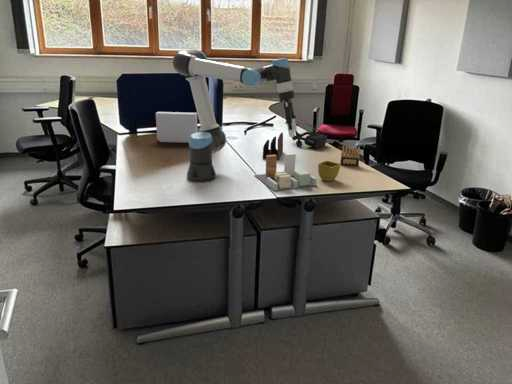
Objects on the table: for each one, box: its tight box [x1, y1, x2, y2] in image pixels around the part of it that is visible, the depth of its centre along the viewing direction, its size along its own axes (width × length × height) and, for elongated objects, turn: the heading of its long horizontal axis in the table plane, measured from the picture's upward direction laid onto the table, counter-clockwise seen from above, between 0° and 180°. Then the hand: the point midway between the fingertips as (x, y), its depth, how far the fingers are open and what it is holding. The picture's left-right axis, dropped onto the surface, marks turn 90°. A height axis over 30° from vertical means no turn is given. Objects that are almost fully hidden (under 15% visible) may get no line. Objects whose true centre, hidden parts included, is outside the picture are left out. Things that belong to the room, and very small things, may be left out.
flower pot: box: [317, 160, 342, 182], centre depth 224 cm, size 9×9×9 cm
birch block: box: [265, 155, 291, 189], centre depth 216 cm, size 18×6×12 cm, turn 23°
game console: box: [155, 111, 199, 144], centre depth 291 cm, size 6×27×20 cm, turn 89°
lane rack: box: [254, 171, 318, 192], centre depth 222 cm, size 25×24×4 cm
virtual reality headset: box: [291, 122, 328, 150], centre depth 290 cm, size 19×24×15 cm
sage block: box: [283, 152, 312, 186], centre depth 220 cm, size 18×6×12 cm, turn 23°
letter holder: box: [262, 132, 284, 161], centre depth 264 cm, size 10×20×14 cm, turn 169°
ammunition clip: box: [339, 145, 361, 168], centre depth 248 cm, size 11×2×12 cm, turn 78°
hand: (293, 133), depth 212 cm, fingers open, 13 cm apart
